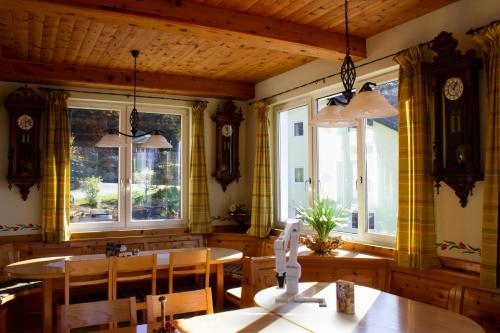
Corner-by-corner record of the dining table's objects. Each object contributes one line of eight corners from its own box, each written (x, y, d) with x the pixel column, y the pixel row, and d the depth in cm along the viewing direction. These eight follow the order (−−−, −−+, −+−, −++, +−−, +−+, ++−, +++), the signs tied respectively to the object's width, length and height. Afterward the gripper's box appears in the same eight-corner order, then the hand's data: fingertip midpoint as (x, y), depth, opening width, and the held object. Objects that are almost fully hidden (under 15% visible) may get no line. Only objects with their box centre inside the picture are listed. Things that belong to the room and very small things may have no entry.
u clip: (277, 286, 238) (277, 278, 238) (285, 286, 237) (284, 278, 237) (277, 289, 232) (277, 281, 232) (284, 289, 232) (284, 281, 232)
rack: (292, 299, 240) (292, 294, 240) (324, 299, 238) (324, 294, 238) (292, 306, 228) (292, 300, 228) (326, 306, 226) (326, 301, 226)
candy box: (355, 312, 215) (354, 282, 216) (350, 314, 213) (349, 283, 213) (341, 308, 222) (340, 279, 223) (336, 310, 219) (335, 280, 220)
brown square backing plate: (275, 300, 239) (275, 298, 239) (288, 300, 238) (287, 298, 238) (274, 304, 231) (274, 302, 231) (287, 304, 230) (287, 303, 230)
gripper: (274, 258, 243) (274, 282, 242) (272, 264, 228) (273, 289, 228) (286, 258, 242) (286, 282, 242) (286, 264, 228) (286, 289, 227)
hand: (281, 286), depth 235 cm, fingers closed on u clip, 5 cm apart
